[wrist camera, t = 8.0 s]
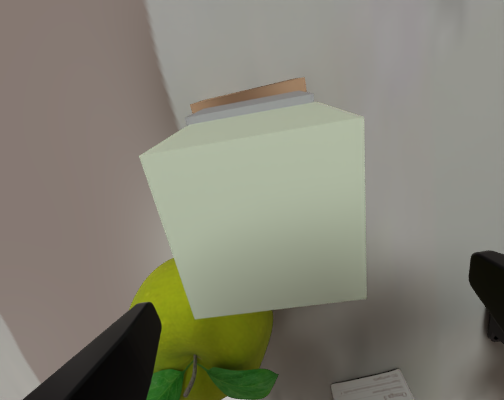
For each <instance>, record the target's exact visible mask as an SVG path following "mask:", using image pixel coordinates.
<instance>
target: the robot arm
mask: <svg viewBox="0 0 504 400" xmlns="http://www.w3.org/2000/svg"><path fill="white" fill-rule="evenodd" d="M469 282H470V285H471V287H472V288H473V290H474V291H475V293H476V294H477V295H478V297H479V298H480V300H481V301H482V303H483V304H484V305H485V307H486V308H487V310H488V311H489V313H490V314H491V316H490V322H489V328H488V337H489V338H490V339H491V340H492V341H493V342H498V341H501V342H502V343H503V344H504V254H501V253H498V252H494V251H482V252H476V253H473V254H472V256H471V260H470V269H469ZM161 329H162V324H161V320H160V318H159V316H158V314H157V311H156V309H155V307H154V305H153V303H151V302H143V303H138V304H136V305H135V306H133V307H132V308H131V309H130V310H129V311H128V312H127V313H125V314H124V315H123V316H122V317H120V318H119V319H118V320H117V321H116V322H114V323H113V324H112V325H111V326H110V327H109V328H107V329H106V330H105V331H104V332H103V333H101V334H100V335H99V336H98V337H97V338H95V339H94V340H93V341H92V342H91V343H90V344H88V345H87V346H86V347H85V348H84V349H82V350H81V351H80V352H79V353H78V354H76V355H75V356H74V357H73V358H72V359H70V360H69V361H68V362H67V363H66V364H64V365H63V366H62V367H61V368H60V369H58V370H57V371H56V372H55V373H54V374H53V375H51V376H50V377H49V378H48V379H47V380H45V381H44V382H43V383H42V384H41V385H39V386H38V387H37V388H36V389H35V390H33V391H32V392H31V393H30V394H29V395H27V396H26V397H25V398H24V399H23V400H146V399H147V396H148V392H149V388H150V385H151V381H152V376H153V371H154V366H155V361H156V356H157V351H158V345H159V340H160V335H161Z"/></svg>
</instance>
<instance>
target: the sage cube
mask: <svg viewBox="0 0 504 400" xmlns="http://www.w3.org/2000/svg"><path fill="white" fill-rule="evenodd" d="M139 157H140V160H141V163H142V166H143V169H144V172H145V175H146V178H147V181H148V184H149V187H150V190H151V192H152V195H153V198H154V201H155V204H156V207H157V210H158V213H159V216H160V219H161V221H162V225H163V228H164V231H165V234H166V236H167V239H168V242H169V245H170V248H171V251H172V254H173V257H174V260H175V263H176V266H177V269H178V272H179V275H180V278H181V280H182V283H183V286H184V289H185V292H186V295H187V298H188V301H189V304H190V307H191V310H192V313H193V316H194V319H201V318H210V317H218V316H227V315H235V314H244V313H252V312H260V311H269V310H277V309H286V308H294V307H302V306H311V305H319V304H328V303H336V302H345V301H353V300H361V299H367V284H366V216H365V148H364V117H362V116H359V115H356V114H353V113H350V112H347V111H344V110H341V109H338V108H335V107H332V106H329V105H326V104H323V103H319V102H312V103H307V104H301V105H296V106H290V107H285V108H279V109H273V110H268V111H262V112H257V113H251V114H246V115H240V116H235V117H229V118H224V119H218V120H212V121H207V122H201V123H196V124H190V125H188V126H186V127H185V128H183V129H182V130H180V131H178V132H177V133H175V134H174V135H172V136H170V137H169V138H167V139H166V140H164V141H163V142H161V143H159V144H158V145H156V146H154V147H153V148H151V149H150V150H148V151H146V152H145V153H143V154H142V155H140V156H139Z"/></svg>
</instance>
